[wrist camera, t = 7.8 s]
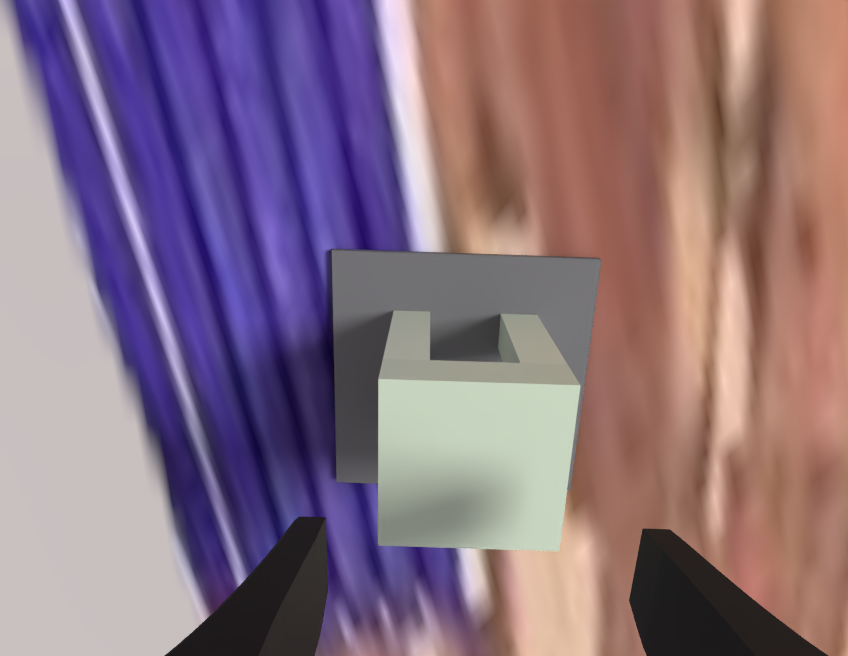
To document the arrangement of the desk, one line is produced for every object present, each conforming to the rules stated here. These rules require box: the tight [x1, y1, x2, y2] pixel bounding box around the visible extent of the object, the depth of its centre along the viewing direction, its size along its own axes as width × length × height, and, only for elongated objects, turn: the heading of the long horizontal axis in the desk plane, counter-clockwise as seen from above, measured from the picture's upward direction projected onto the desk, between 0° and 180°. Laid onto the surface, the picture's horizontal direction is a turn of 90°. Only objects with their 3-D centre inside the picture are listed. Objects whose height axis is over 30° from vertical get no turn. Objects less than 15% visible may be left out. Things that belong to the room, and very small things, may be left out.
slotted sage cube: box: [378, 311, 580, 551], centre depth 19 cm, size 6×6×6 cm
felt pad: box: [332, 249, 601, 490], centre depth 22 cm, size 10×10×1 cm
